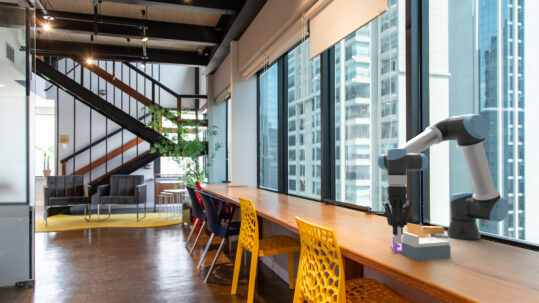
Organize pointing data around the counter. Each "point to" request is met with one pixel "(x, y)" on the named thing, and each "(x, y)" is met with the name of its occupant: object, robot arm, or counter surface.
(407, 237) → the cover
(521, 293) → the counter surface
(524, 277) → the counter surface
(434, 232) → the key
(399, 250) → the bracket
